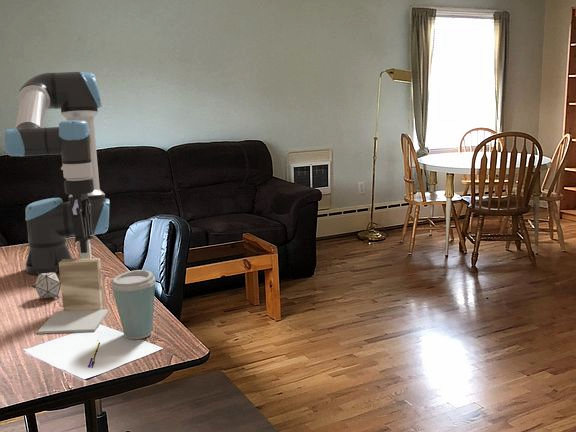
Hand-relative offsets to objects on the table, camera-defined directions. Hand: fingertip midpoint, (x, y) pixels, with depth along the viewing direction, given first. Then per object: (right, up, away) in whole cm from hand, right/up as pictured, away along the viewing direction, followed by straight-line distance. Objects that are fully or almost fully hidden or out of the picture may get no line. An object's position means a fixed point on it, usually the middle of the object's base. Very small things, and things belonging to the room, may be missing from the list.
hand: (86, 263), depth 172 cm
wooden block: (0, -13, -3) cm, 13 cm away
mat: (+1, -14, -12) cm, 19 cm away
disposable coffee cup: (+19, -16, -21) cm, 33 cm away
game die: (-13, -11, +7) cm, 18 cm away
